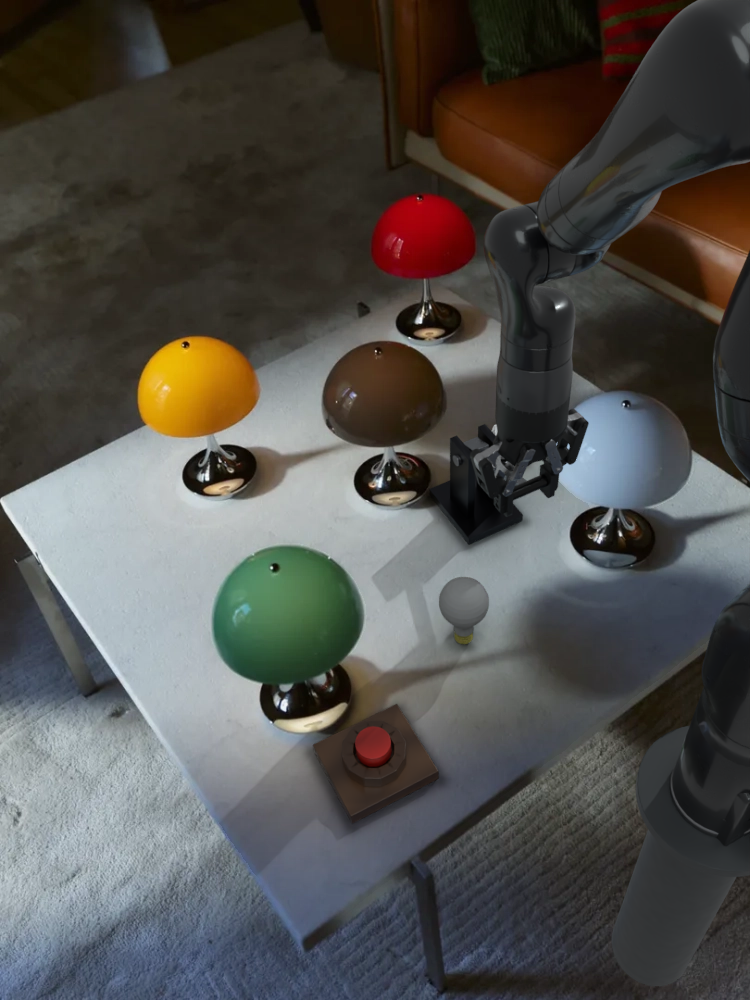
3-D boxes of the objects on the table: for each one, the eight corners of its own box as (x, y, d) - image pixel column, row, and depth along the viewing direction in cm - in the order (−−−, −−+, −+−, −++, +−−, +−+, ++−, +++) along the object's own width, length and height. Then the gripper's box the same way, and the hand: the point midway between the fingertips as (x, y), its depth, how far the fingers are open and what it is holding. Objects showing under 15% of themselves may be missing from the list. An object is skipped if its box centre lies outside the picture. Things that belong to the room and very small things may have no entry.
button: (397, 757, 96) (397, 748, 94) (366, 773, 95) (365, 764, 93) (381, 729, 98) (380, 720, 97) (350, 744, 97) (349, 736, 96)
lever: (549, 491, 107) (547, 473, 106) (512, 507, 106) (509, 489, 105) (489, 449, 118) (486, 432, 117) (454, 463, 116) (451, 446, 115)
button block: (439, 778, 97) (438, 762, 94) (352, 824, 94) (349, 808, 92) (397, 711, 103) (396, 694, 100) (314, 752, 100) (310, 735, 97)
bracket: (522, 520, 121) (528, 454, 112) (468, 544, 118) (470, 478, 110) (481, 473, 127) (483, 406, 118) (429, 495, 125) (427, 428, 116)
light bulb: (430, 632, 109) (429, 579, 102) (471, 613, 111) (472, 559, 104) (454, 667, 106) (455, 614, 99) (496, 647, 108) (499, 593, 100)
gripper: (493, 431, 91) (489, 547, 104) (614, 382, 95) (597, 499, 108) (453, 390, 96) (454, 505, 108) (570, 344, 100) (558, 460, 112)
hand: (525, 501), depth 108 cm, fingers closed on lever, 5 cm apart
